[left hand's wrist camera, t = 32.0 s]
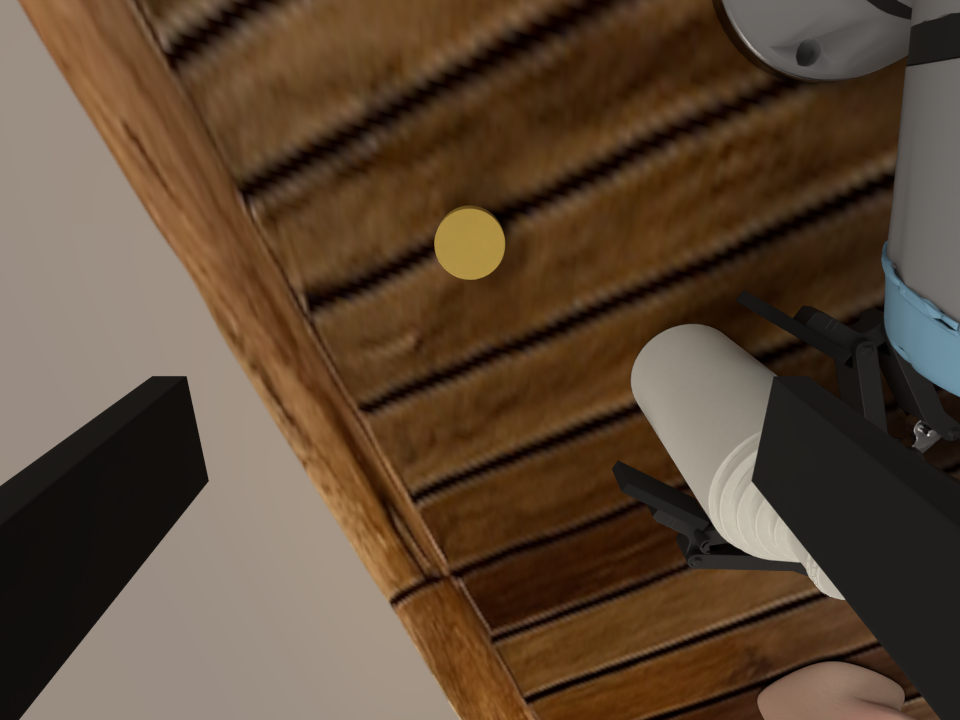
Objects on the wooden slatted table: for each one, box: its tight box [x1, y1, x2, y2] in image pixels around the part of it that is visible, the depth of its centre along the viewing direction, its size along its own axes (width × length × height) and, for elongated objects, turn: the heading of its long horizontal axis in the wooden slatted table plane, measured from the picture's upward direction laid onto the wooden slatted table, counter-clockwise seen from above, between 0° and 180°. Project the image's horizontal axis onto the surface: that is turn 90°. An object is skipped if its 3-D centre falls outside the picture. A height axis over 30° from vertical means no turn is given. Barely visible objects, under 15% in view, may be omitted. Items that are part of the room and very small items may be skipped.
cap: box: [435, 205, 505, 280], centre depth 37 cm, size 5×5×2 cm
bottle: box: [631, 324, 845, 600], centre depth 32 cm, size 8×8×20 cm
